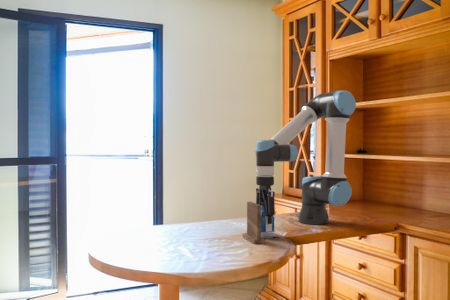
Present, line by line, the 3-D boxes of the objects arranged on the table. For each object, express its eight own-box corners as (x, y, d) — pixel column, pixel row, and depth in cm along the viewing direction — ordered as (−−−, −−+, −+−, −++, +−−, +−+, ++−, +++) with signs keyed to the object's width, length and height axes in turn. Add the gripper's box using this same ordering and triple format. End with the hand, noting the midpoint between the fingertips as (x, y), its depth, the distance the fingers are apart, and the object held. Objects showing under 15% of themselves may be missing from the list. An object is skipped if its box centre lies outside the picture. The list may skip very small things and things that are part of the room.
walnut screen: (253, 236, 168) (253, 201, 168) (265, 243, 157) (265, 205, 156) (242, 237, 166) (242, 201, 166) (253, 244, 155) (254, 206, 155)
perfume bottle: (260, 232, 165) (260, 204, 165) (255, 229, 171) (255, 201, 171) (274, 231, 167) (274, 203, 167) (268, 228, 173) (268, 201, 173)
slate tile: (269, 232, 175) (269, 230, 175) (278, 237, 166) (279, 235, 166) (250, 234, 172) (250, 232, 172) (259, 239, 163) (259, 237, 163)
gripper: (248, 174, 176) (247, 225, 177) (267, 178, 158) (266, 235, 159) (263, 173, 179) (263, 224, 179) (283, 177, 161) (283, 233, 161)
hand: (264, 229), depth 169 cm, fingers closed on perfume bottle, 6 cm apart
